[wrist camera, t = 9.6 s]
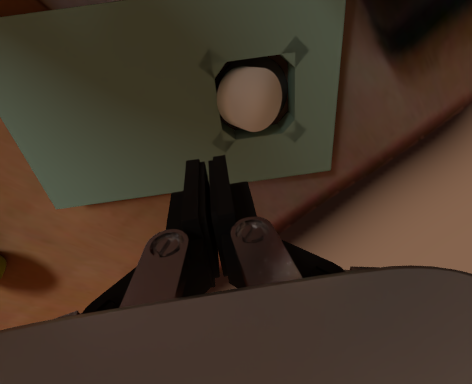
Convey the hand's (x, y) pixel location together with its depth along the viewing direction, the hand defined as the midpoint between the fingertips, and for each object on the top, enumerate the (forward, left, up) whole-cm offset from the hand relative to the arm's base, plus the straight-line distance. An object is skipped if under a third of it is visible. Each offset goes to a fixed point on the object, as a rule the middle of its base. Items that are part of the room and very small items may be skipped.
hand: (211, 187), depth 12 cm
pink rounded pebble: (0, +3, -15) cm, 15 cm away
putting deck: (0, -3, -16) cm, 16 cm away
